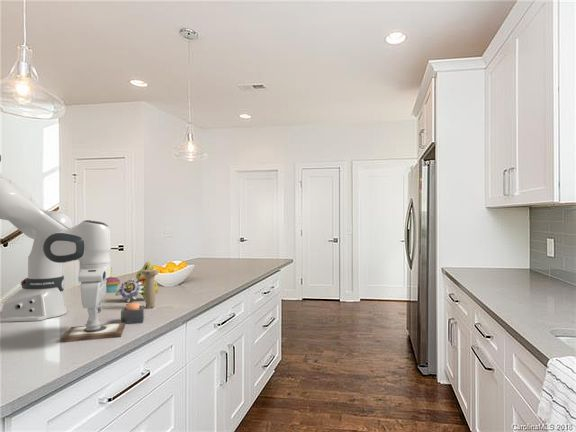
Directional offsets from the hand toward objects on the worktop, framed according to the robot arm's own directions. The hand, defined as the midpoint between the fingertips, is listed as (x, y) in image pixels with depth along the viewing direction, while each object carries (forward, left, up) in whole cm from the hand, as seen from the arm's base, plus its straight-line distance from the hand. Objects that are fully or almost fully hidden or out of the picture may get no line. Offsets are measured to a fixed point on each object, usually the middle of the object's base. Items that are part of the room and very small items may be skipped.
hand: (95, 316), depth 118 cm
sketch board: (0, 0, -6) cm, 6 cm away
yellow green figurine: (+12, +66, -6) cm, 67 cm away
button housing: (+10, +12, -6) cm, 17 cm away
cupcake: (-5, +75, -6) cm, 75 cm away
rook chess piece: (-1, 0, -4) cm, 4 cm away
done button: (+10, +12, -2) cm, 16 cm away
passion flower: (+7, +49, -6) cm, 50 cm away
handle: (+15, +32, -6) cm, 36 cm away
